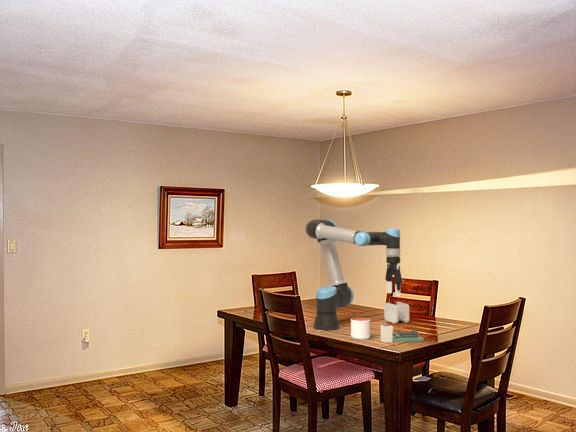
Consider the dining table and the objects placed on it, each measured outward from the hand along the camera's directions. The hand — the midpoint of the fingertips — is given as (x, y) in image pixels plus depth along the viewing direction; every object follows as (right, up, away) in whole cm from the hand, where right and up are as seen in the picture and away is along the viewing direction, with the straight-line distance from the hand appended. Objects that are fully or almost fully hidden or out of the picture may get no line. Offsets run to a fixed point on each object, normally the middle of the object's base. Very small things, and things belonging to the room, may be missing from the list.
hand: (393, 294), depth 309 cm
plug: (-8, -21, -23) cm, 32 cm away
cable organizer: (+8, -22, +32) cm, 40 cm away
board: (+2, -21, -16) cm, 27 cm away
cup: (-20, -21, -15) cm, 33 cm away
